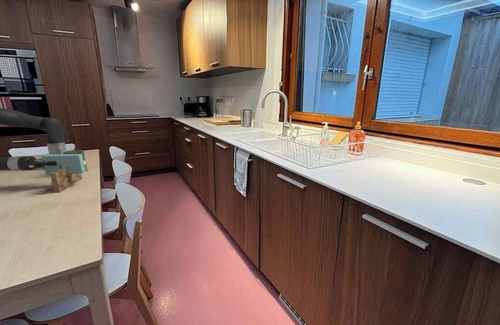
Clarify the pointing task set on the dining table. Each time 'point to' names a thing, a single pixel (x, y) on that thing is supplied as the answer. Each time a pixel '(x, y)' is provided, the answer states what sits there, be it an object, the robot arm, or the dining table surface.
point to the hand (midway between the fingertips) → (58, 162)
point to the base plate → (63, 179)
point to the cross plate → (71, 160)
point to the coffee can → (78, 153)
